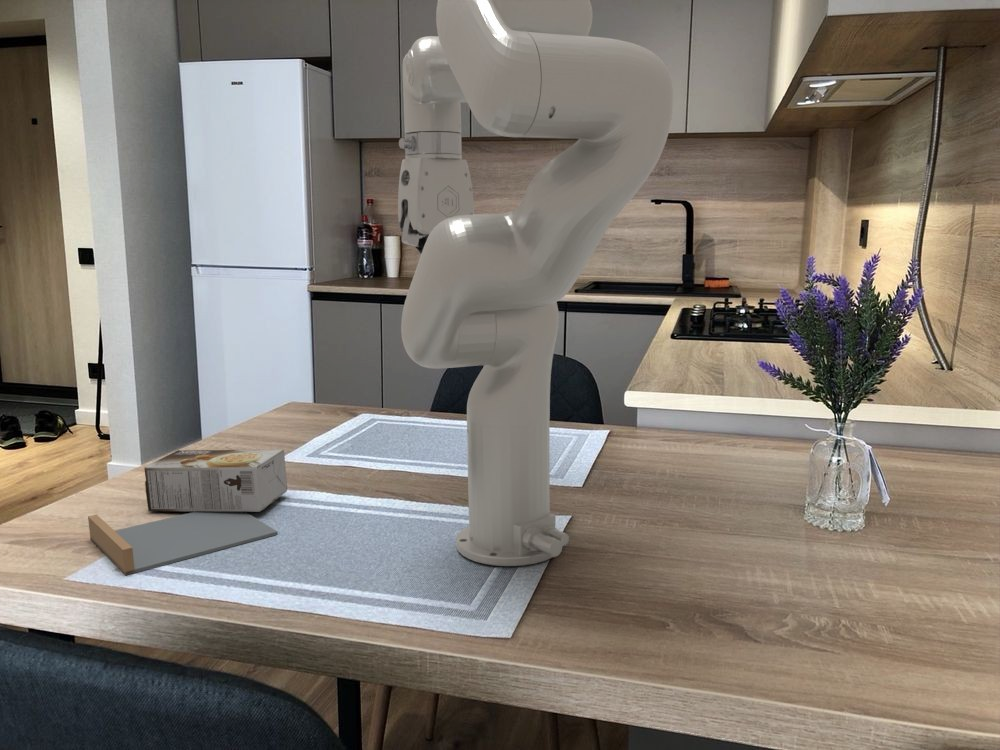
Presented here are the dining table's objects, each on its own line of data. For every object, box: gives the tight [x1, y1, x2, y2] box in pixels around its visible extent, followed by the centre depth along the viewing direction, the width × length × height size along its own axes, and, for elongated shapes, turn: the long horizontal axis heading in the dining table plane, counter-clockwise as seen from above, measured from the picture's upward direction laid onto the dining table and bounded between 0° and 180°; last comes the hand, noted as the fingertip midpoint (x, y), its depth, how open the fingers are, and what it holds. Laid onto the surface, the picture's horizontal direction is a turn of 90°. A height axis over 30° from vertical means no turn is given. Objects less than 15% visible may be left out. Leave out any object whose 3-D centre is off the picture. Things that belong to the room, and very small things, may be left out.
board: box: [87, 511, 278, 576], centre depth 103 cm, size 14×18×3 cm
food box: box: [144, 449, 288, 513], centre depth 115 cm, size 9×6×16 cm
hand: (437, 286), depth 115 cm, fingers closed
